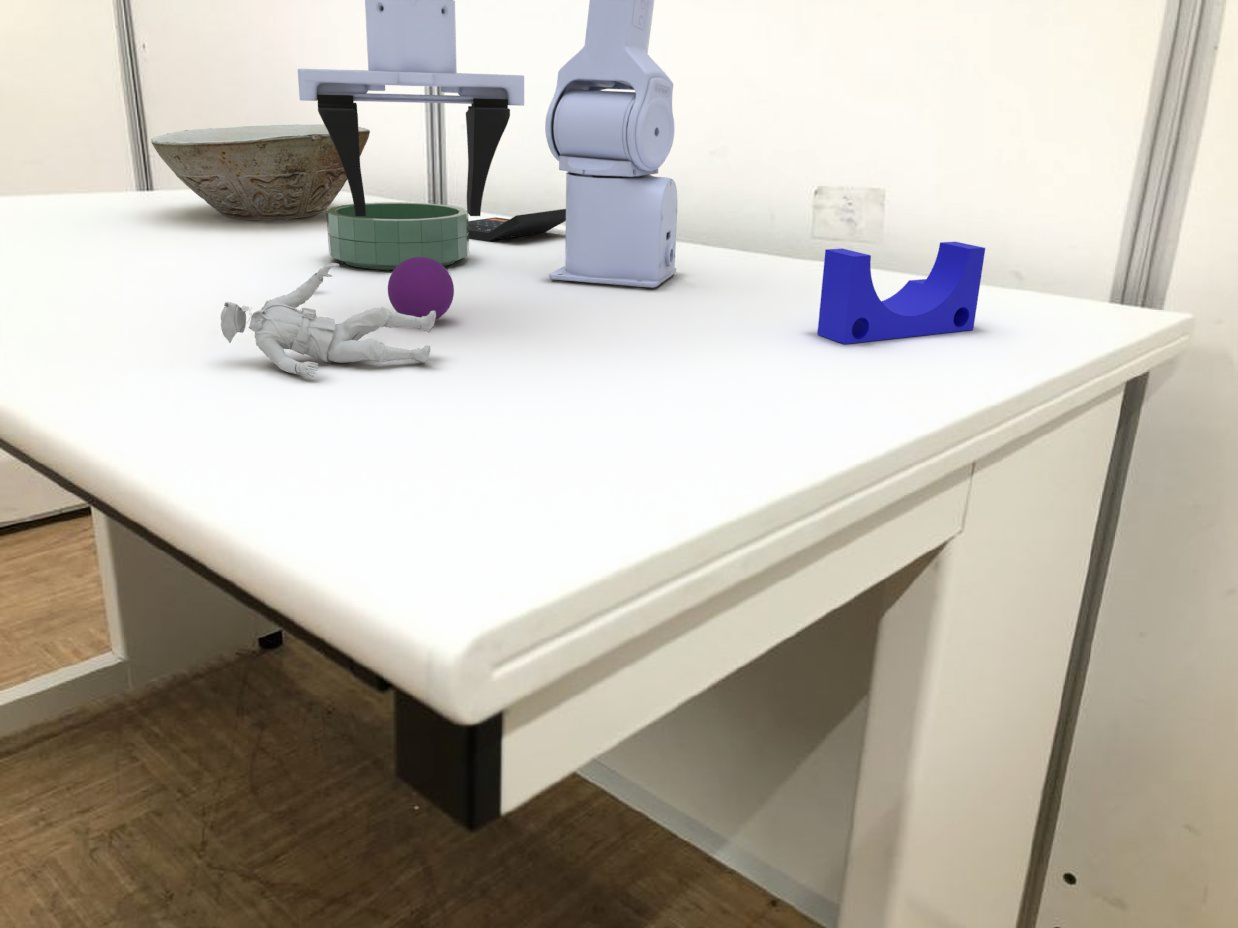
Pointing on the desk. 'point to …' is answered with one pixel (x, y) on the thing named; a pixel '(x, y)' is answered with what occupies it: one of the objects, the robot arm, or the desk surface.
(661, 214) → the robot arm
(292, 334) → the soldier figure
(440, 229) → the green bowl
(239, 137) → the bowl
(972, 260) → the blue pipe saddle bracket
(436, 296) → the ball
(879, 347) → the desk surface
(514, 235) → the calculator
